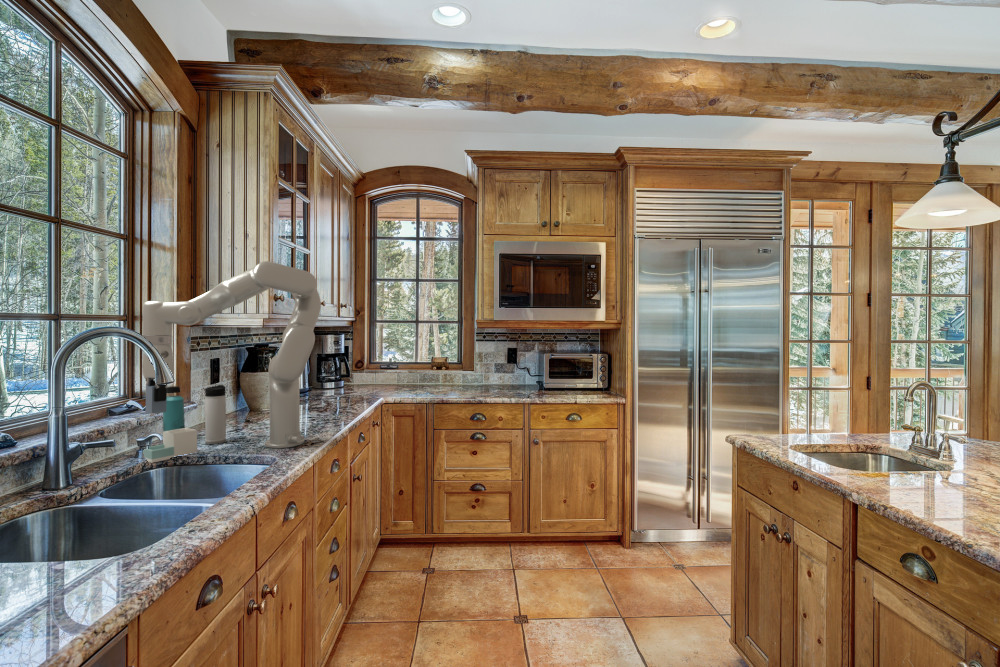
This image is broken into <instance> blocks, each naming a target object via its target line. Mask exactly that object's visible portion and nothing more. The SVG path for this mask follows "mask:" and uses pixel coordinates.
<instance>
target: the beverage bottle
mask: <svg viewBox="0 0 1000 667" xmlns="http://www.w3.org/2000/svg"><path fill="white" fill-rule="evenodd" d="M178 393H181V387H180V386H178V385H177V386H176V385H173V386H172V385H171V386H167V394H178ZM185 421H186V418H185V398H184V397H183V396H181V395H168V396H167V406H166V412H162V433H163V432H164V431H170V430H176V429H182V428H186V425H185V423H186V422H185Z"/></svg>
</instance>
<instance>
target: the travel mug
mask: <svg viewBox="0 0 1000 667" xmlns="http://www.w3.org/2000/svg"><path fill="white" fill-rule="evenodd" d="M226 395H227V394H226V386H225V385H224V384H219V385H218V384H217V385H215V386H208V387H206V388H204V422H205V424H204V430H205V434H204V437H205V438H204V439H205V440H204V441H205V442H204V443H206V444H205V445H207V444H217V445H219V444H218V443H222V444H224V443H223V442H225V443H226V442H227V413H226V412H227V411H226V410H227V408H226V407H227V406H226V405H227V403H226V398H227V396H226Z"/></svg>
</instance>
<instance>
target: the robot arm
mask: <svg viewBox="0 0 1000 667" xmlns="http://www.w3.org/2000/svg"><path fill="white" fill-rule="evenodd" d="M317 287H318V282H317V279H316V276H314V275H313V273H311V272H310V271H307V270H303V269H300V268H296V267H292V266H289V265H284V264H280V263H278V262H277V263H276V262H273V261H269V260H267V261H261V262H259V263H257V264H256V265H255V266H253V267H251V268H249V269H247V270H245V271H243V272H241V273H238V274H236V275H234V276H232V277H229V278H227V279H226V280H225V279H224V280H223V281H222V282H220V283H218V284H217V285H216V286H214V287H213V288H212V289H210V290H208V291H207V292H205V293H203V294H201V295H199V296H196V297H195V298H192V299H190V300H187V301H186V300H185V301H184V300H183V301H173V302H172V301H171V302H169V301H165V300H164V301H162V300H161V301H160V300H147V301H144V303H143V304H142V329H141V330H142V332H141V333H142V334H141V335H142V336H143V337H145V338H146V339H147V340H148V341H150V342H151V343H152V344H153V346H154V347H155V348H156V349H157V350H158V351H159V353H160V354H161V356H162V357H163V359H164V361H165V362H166V363H167V365H168V367H169V369H170V370H171V372H172V374H173V377H174V375H175V371H174V370H175V368H174V353H173V352H174V351H173V347H172V346H173V325H181V326H182V325H183V326H193V325H196V324H199V323H200V322H202V321H203V320H206V319H208V318H210V317H212V316H214V315H216V314H218V313H220V312H222V311H225V310H226V309H230V308H233V307H235V306H238V305H239V304H241V303H243V302H245V301H248V300H249V299H251V298H254V297H256V296H258V295H259V294H262V293H263V292H265V291H268V290H270V289H273V290H274V289H275V290H279V291H282V292H286V293H290V294H291V295H292V296H293V299H294V308H293V310H292V313H291V316H290V319H289V320H288V323H287V325H286V327H285V329H284V330H283V333H282V336H281V337H282V342H281V344H280V347H279V350H278V352H277V354H275V355H274V356H273V357H272V358H271V359H270V361H269V364H268V382H269V383H268V386H269V439H268V440H267V441H264V446H265V447H266V448H269V449H286V448H293V447H297V446H301V445H303V444H304V443H305V439H306V438H305V435H302V431H301V429H300V426H301V425H300V423H301V422H300V420H301V419H300V417H301V415H300V413H301V412H300V410H301V409H300V407H301V406H300V403H301V402H300V399H301V398H300V395H301V394H300V380H299V379H300V377H301V376H302V375H303V372H304V370H305V369H306V368H305V367H306V366H307V363H308V361H309V358H310V357H311V353H312V351H313V348H314V346H315V341H316V335H315V332H314V331H315V330H314V329H315V327H316V324H317V321H318V319H319V315H320V313H321V307H322V302H321V297H320V294H319V291H318V289H317ZM142 336H141V337H142ZM141 364H142V366H141V367H142V368H141V369H142V375H143V377H144V379H145V382H146V384H145V387H146V386H156V388H155V389H154V401H155V402H159V401H166V398H167V395H168V393H167V387H168V383H167V384H166V385H157V384H156V383H155V370H154V367H153V365H152V364H151V362H150V361H149V359H148V357H147V356H146V355H145V354H144V353H143V354H142V363H141Z"/></svg>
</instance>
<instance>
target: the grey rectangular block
mask: <svg viewBox="0 0 1000 667" xmlns="http://www.w3.org/2000/svg"><path fill="white" fill-rule="evenodd" d="M155 388H156V386H146V385H145V413H147V414H159V413H163V412H166V406H167V398H166V401H159V402H155V401H154V389H155Z"/></svg>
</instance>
